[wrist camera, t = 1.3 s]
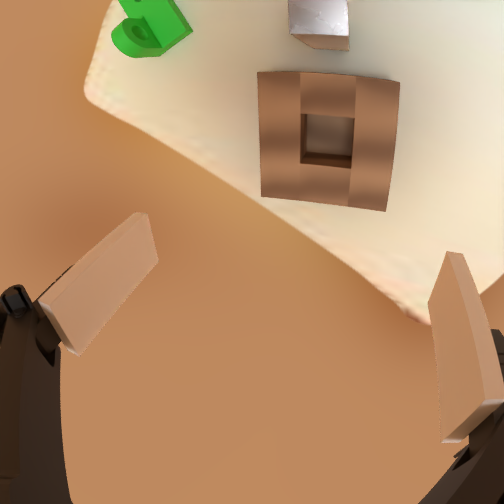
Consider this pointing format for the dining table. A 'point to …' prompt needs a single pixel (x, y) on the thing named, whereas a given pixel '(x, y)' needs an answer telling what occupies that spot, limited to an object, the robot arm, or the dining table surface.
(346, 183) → the bore block
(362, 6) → the dining table surface
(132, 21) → the mechanical part
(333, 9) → the square bit
